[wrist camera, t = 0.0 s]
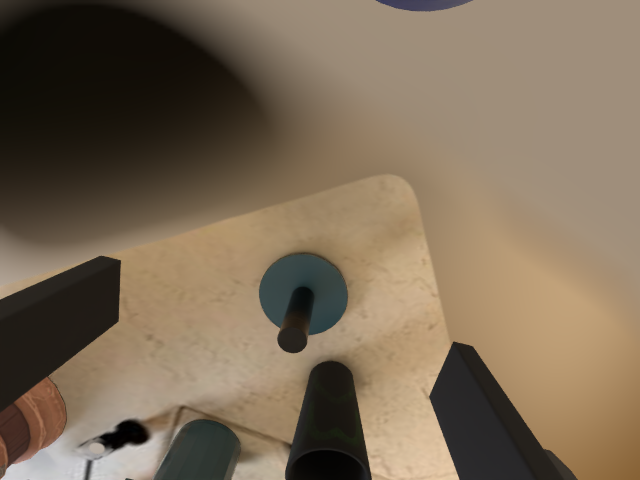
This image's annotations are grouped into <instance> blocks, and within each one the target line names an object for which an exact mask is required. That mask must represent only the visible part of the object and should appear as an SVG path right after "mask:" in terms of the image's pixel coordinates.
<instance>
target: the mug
mask: <svg viewBox="0 0 640 480" xmlns="http://www.w3.org/2000/svg"><path fill="white" fill-rule="evenodd" d="M65 423H66V413H65V404H64V402H63V400H62V398H61V396H60V394H59V392H58V390H57V388H56V387H55V385H54V384H53V383H52V382H51V381H50V380H49V379H48V377H46V378H45V379H43V380H42V381H41V382H39V383H38V384H37V385H36V386H34V387H33V388H32V389H30V390H29V391H28V392H26V393H25V394H24V395H23V396H21V397H20V398H19V399H17V400H16V401H15V402H14V403H12V404H11V405H10V406H8V407H7V408H6V409H4V410H3V411H2V412H1V413H0V479H1V478H2V477H3V476H4V475H5V472H6V469H7V468H8V467H9V466H10V465H11V464H17V463H20V462H22V461H25V460H28V459H30V458H31V457H33V456H34V455H35V454H36V453H37V452H38V451H39V450H40V449H43V448H45V447H48V446H49V445H50V444H52V443H53V442H54V441H55V440H56V439H57V438H58V437H59V436H60V435H61V434H62V432H63V429H64V426H65Z"/></svg>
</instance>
